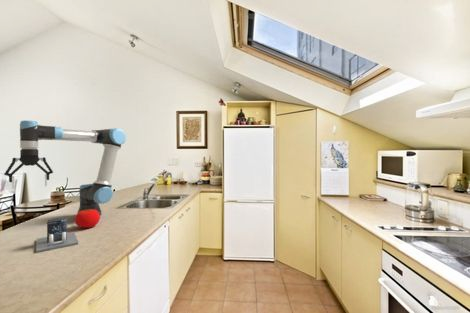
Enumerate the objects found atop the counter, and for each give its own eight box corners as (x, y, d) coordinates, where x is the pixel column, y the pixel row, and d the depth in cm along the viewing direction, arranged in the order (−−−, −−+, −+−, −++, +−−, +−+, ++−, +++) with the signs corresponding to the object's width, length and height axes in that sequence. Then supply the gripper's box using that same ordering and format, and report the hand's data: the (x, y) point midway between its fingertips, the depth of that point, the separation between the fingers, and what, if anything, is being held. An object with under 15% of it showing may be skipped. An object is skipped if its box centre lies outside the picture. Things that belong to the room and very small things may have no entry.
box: (47, 243, 115) (46, 221, 115) (48, 239, 120) (47, 219, 119) (66, 240, 119) (66, 219, 119) (66, 236, 124) (66, 216, 124)
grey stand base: (73, 233, 132) (73, 223, 132) (78, 244, 117) (78, 232, 117) (36, 240, 122) (36, 228, 122) (36, 252, 107) (36, 239, 106)
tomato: (104, 224, 148) (104, 207, 148) (85, 231, 136) (84, 212, 136) (90, 223, 152) (90, 206, 152) (70, 229, 140) (70, 210, 140)
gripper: (57, 149, 141) (57, 184, 141) (-2, 148, 125) (-1, 188, 125) (58, 148, 135) (58, 185, 135) (-4, 148, 119) (-3, 190, 119)
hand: (30, 187), depth 130 cm, fingers open, 13 cm apart
